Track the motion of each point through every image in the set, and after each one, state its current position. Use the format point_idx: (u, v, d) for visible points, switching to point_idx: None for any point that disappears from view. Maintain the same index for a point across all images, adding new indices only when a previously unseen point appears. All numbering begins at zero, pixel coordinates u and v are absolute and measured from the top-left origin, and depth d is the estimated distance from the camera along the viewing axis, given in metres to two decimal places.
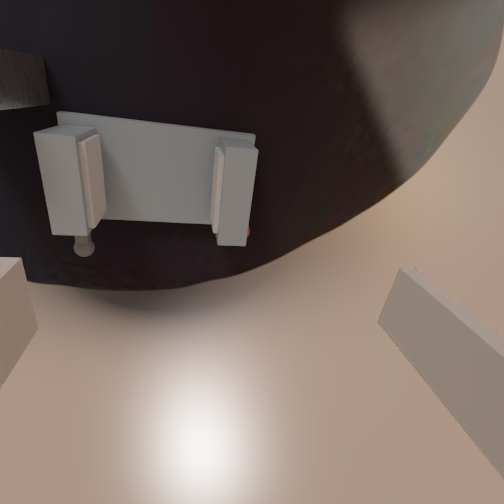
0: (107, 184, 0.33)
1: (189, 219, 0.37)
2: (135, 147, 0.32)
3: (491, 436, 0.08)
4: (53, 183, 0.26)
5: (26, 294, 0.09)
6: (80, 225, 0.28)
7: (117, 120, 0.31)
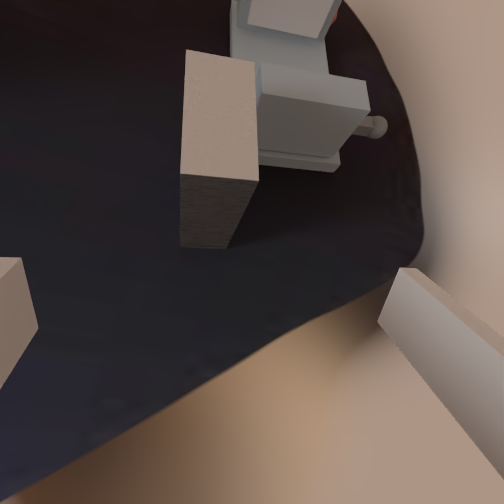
0: None
1: (323, 63, 0.34)
2: None
3: (491, 436, 0.08)
4: (312, 92, 0.23)
5: (26, 294, 0.09)
6: (354, 83, 0.25)
7: None
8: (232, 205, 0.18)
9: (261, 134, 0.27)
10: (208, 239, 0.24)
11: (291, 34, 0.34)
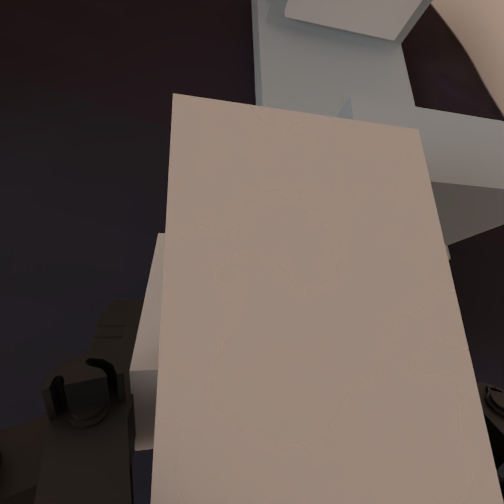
0: None
1: (403, 80, 0.21)
2: None
3: None
4: (463, 163, 0.10)
5: None
6: None
7: None
8: None
9: None
10: None
11: (352, 34, 0.21)
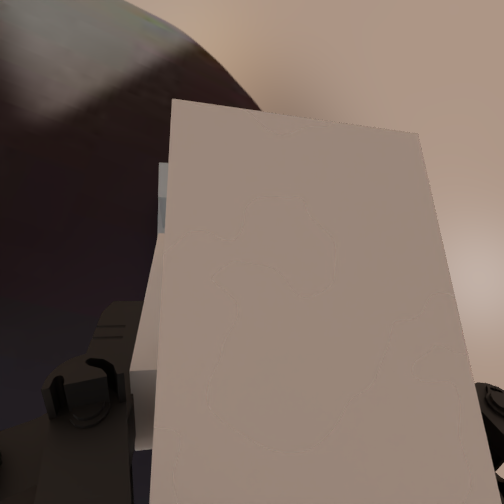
0: None
1: None
2: None
3: None
4: None
5: None
6: None
7: None
8: None
9: None
10: None
11: None
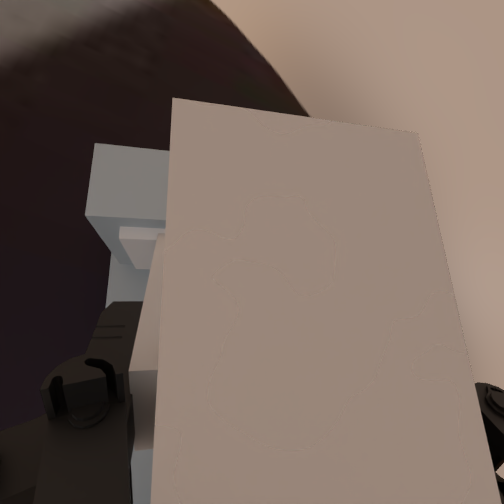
0: None
1: None
2: None
3: None
4: None
5: None
6: None
7: None
8: None
9: None
10: None
11: None
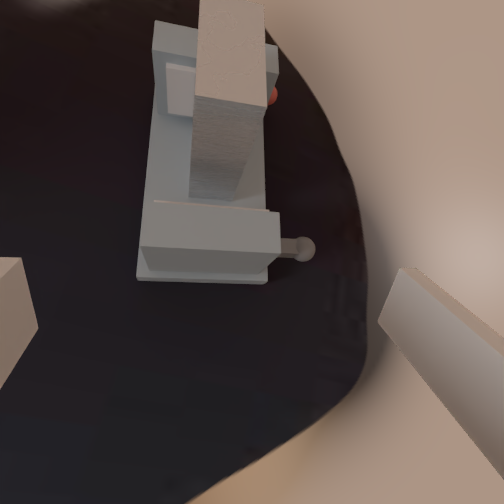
0: None
1: (259, 152, 0.30)
2: (174, 199, 0.27)
3: (491, 436, 0.08)
4: (207, 236, 0.19)
5: (26, 294, 0.09)
6: (264, 217, 0.21)
7: None
8: (240, 139, 0.20)
9: (162, 264, 0.23)
10: (216, 187, 0.26)
11: None
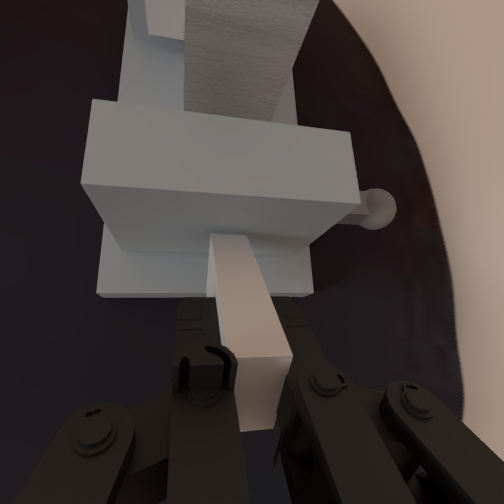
0: None
1: (288, 98, 0.20)
2: None
3: None
4: (221, 169, 0.10)
5: None
6: (325, 140, 0.11)
7: None
8: (285, 12, 0.10)
9: (140, 237, 0.13)
10: None
11: None
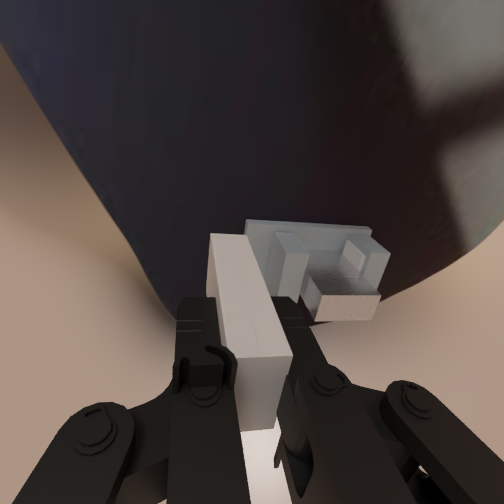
0: (267, 265, 0.47)
1: None
2: None
3: None
4: (287, 279, 0.40)
5: None
6: None
7: (284, 226, 0.44)
8: (307, 300, 0.40)
9: (276, 245, 0.43)
10: None
11: None
